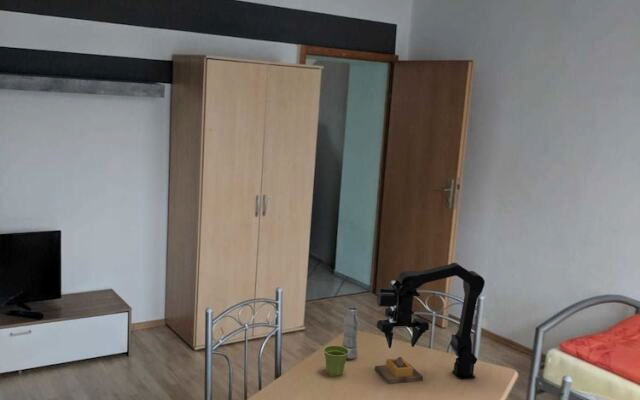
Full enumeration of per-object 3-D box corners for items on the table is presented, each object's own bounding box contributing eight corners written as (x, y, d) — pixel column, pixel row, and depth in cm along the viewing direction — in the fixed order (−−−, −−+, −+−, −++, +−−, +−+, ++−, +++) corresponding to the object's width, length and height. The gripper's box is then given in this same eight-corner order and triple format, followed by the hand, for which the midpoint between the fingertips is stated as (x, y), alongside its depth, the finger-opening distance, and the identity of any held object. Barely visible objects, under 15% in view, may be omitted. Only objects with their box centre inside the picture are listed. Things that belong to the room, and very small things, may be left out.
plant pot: (345, 379, 237) (346, 357, 236) (319, 375, 239) (321, 353, 237) (349, 369, 246) (351, 347, 245) (324, 365, 248) (326, 343, 246)
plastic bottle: (357, 355, 260) (361, 306, 257) (356, 362, 253) (360, 312, 250) (341, 353, 260) (344, 305, 257) (339, 360, 254) (343, 310, 250)
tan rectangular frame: (401, 365, 249) (402, 358, 249) (412, 375, 241) (413, 368, 240) (385, 366, 247) (386, 359, 247) (395, 377, 239) (396, 369, 238)
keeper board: (408, 367, 252) (410, 349, 251) (422, 380, 241) (424, 362, 240) (374, 369, 248) (376, 351, 246) (387, 383, 236) (389, 365, 235)
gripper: (418, 298, 250) (414, 337, 253) (372, 300, 244) (369, 340, 247) (431, 308, 240) (427, 349, 242) (384, 310, 234) (380, 352, 236)
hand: (401, 347), depth 242 cm, fingers open, 9 cm apart
